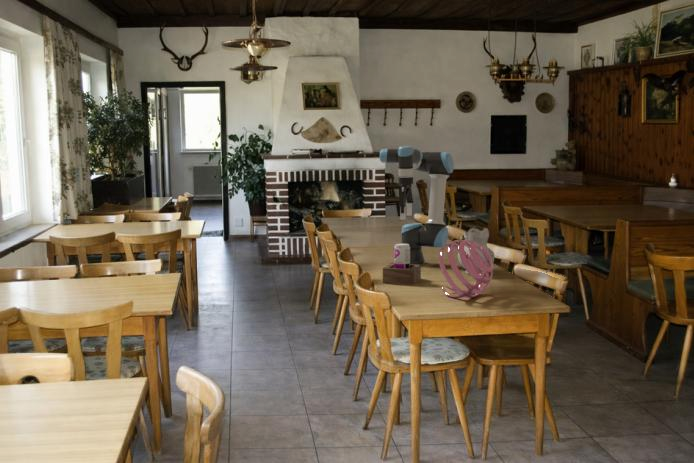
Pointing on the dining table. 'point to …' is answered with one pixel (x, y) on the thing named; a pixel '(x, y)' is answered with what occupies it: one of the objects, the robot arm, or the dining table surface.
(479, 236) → the grey rounded figure
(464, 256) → the spiral basket
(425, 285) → the dining table surface
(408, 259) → the supplement can
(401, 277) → the dark wooden box
